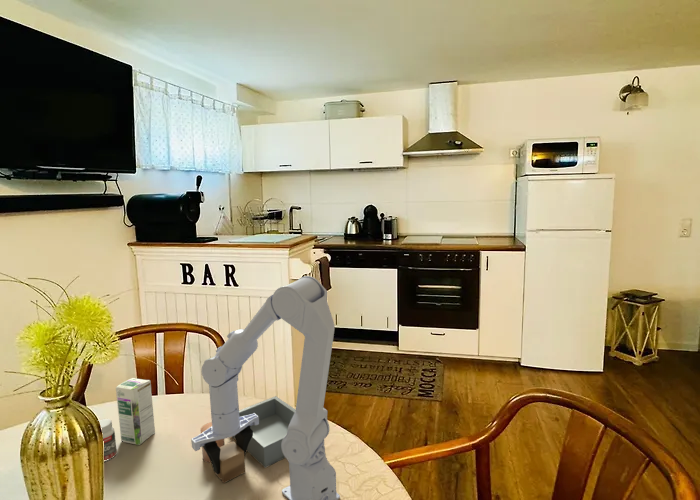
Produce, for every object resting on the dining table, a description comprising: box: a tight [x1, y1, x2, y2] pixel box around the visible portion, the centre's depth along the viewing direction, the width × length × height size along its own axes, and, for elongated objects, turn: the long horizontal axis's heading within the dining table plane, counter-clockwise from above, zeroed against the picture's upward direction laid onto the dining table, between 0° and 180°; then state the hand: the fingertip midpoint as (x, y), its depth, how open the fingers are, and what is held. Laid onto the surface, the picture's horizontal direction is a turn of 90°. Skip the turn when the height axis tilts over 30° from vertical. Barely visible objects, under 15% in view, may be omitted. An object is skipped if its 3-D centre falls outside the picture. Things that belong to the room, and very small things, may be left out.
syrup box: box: [115, 377, 156, 446], centre depth 106 cm, size 6×6×14 cm
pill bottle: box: [98, 418, 118, 460], centre depth 99 cm, size 5×5×8 cm
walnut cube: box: [215, 440, 246, 484], centre depth 93 cm, size 5×5×5 cm
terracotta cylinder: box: [200, 421, 226, 463], centre depth 99 cm, size 5×5×7 cm
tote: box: [231, 395, 296, 468], centre depth 105 cm, size 18×14×5 cm
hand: (229, 465), depth 93 cm, fingers closed on walnut cube, 5 cm apart
